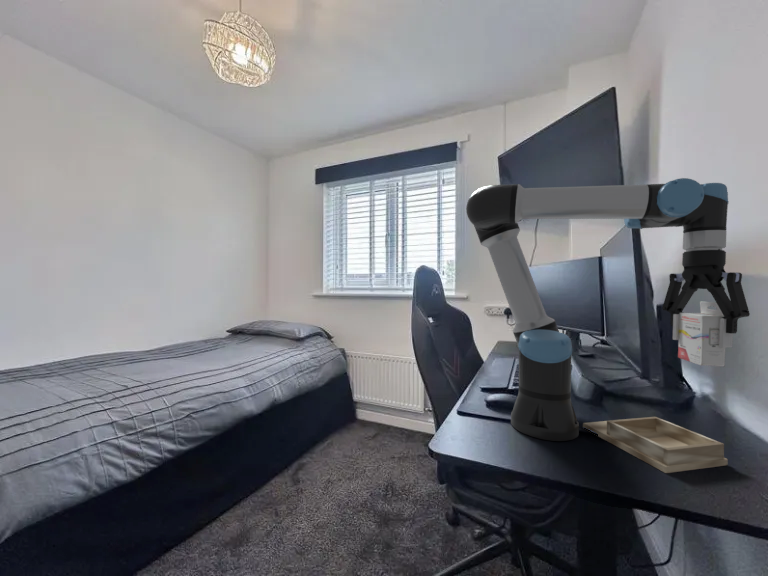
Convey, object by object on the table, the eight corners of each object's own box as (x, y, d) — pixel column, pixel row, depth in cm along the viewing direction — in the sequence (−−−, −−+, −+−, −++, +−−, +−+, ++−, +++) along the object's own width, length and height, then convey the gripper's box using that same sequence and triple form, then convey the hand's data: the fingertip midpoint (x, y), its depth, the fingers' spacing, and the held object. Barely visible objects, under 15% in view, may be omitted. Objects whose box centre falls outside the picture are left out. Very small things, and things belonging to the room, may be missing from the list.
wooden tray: (582, 427, 82) (583, 410, 82) (633, 423, 85) (633, 406, 85) (665, 473, 63) (666, 451, 63) (727, 465, 66) (728, 444, 66)
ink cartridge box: (676, 357, 85) (678, 300, 85) (699, 359, 84) (700, 300, 84) (700, 365, 77) (702, 302, 77) (726, 367, 76) (728, 302, 76)
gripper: (777, 246, 70) (773, 352, 70) (668, 254, 92) (666, 335, 92) (750, 244, 69) (746, 353, 69) (646, 253, 90) (643, 336, 91)
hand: (700, 343), depth 81 cm, fingers closed on ink cartridge box, 9 cm apart
